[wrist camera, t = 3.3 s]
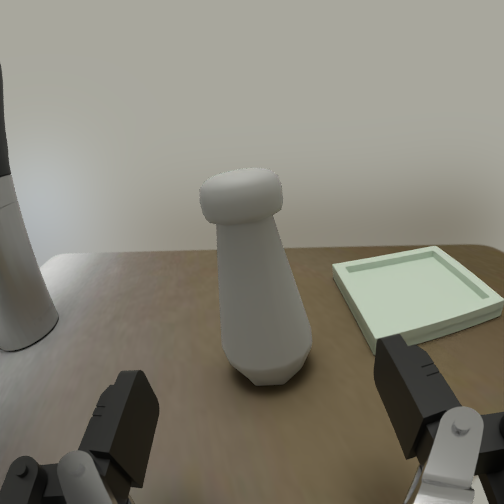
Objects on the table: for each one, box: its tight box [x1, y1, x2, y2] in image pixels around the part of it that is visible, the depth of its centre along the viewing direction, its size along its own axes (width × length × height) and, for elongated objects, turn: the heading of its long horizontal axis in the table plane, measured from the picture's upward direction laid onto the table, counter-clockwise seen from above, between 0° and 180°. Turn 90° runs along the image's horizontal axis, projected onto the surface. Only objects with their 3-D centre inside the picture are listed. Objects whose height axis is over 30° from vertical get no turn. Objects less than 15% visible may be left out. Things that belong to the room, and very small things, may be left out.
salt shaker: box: [200, 168, 312, 386], centre depth 18 cm, size 6×6×13 cm
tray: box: [332, 246, 504, 356], centre depth 25 cm, size 12×12×2 cm
